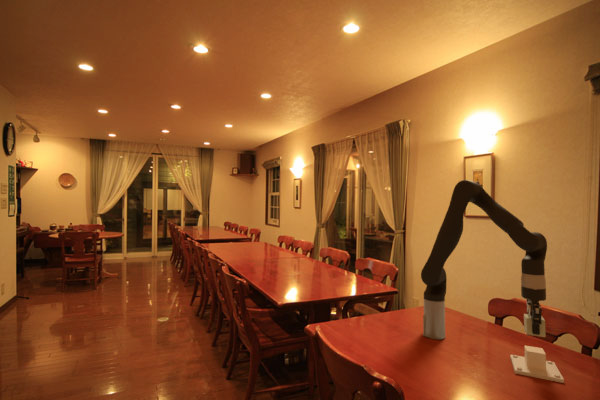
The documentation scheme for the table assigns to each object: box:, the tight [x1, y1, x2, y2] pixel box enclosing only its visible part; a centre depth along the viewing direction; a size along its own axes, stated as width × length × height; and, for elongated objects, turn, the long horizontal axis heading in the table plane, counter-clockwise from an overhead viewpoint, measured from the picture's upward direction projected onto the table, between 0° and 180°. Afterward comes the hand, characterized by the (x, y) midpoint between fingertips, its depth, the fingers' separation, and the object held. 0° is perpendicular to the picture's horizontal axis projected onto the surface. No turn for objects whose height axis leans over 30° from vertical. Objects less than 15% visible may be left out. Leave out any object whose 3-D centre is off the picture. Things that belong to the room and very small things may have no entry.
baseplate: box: [509, 354, 565, 384], centre depth 119 cm, size 14×14×2 cm
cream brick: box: [524, 345, 547, 371], centre depth 119 cm, size 6×6×6 cm
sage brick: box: [523, 313, 546, 338], centre depth 119 cm, size 6×6×6 cm
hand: (534, 331), depth 119 cm, fingers closed on sage brick, 5 cm apart
